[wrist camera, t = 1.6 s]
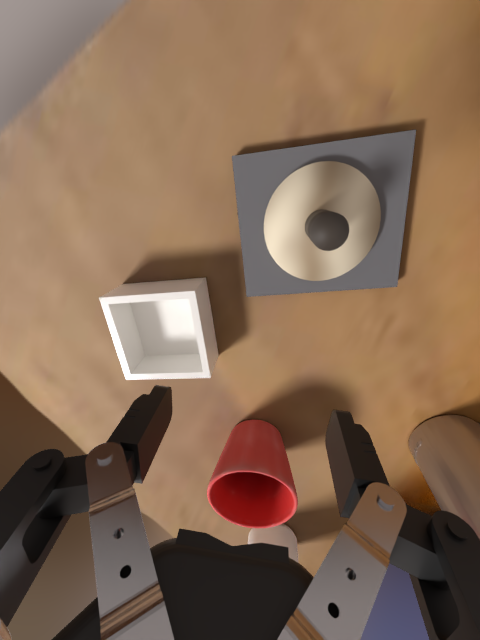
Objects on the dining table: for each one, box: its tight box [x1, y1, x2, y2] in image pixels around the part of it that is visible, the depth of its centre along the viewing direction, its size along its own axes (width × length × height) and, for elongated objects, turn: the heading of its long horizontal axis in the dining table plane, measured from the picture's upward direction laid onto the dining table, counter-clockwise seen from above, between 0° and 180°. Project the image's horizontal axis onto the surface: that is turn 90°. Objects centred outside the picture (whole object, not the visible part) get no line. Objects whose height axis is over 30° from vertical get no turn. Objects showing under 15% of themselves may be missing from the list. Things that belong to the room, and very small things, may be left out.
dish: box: [99, 277, 219, 380], centre depth 33 cm, size 11×11×5 cm
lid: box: [264, 161, 381, 281], centre depth 25 cm, size 11×11×6 cm
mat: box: [232, 130, 416, 297], centre depth 28 cm, size 16×14×1 cm
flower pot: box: [207, 420, 298, 528], centre depth 38 cm, size 11×11×10 cm
